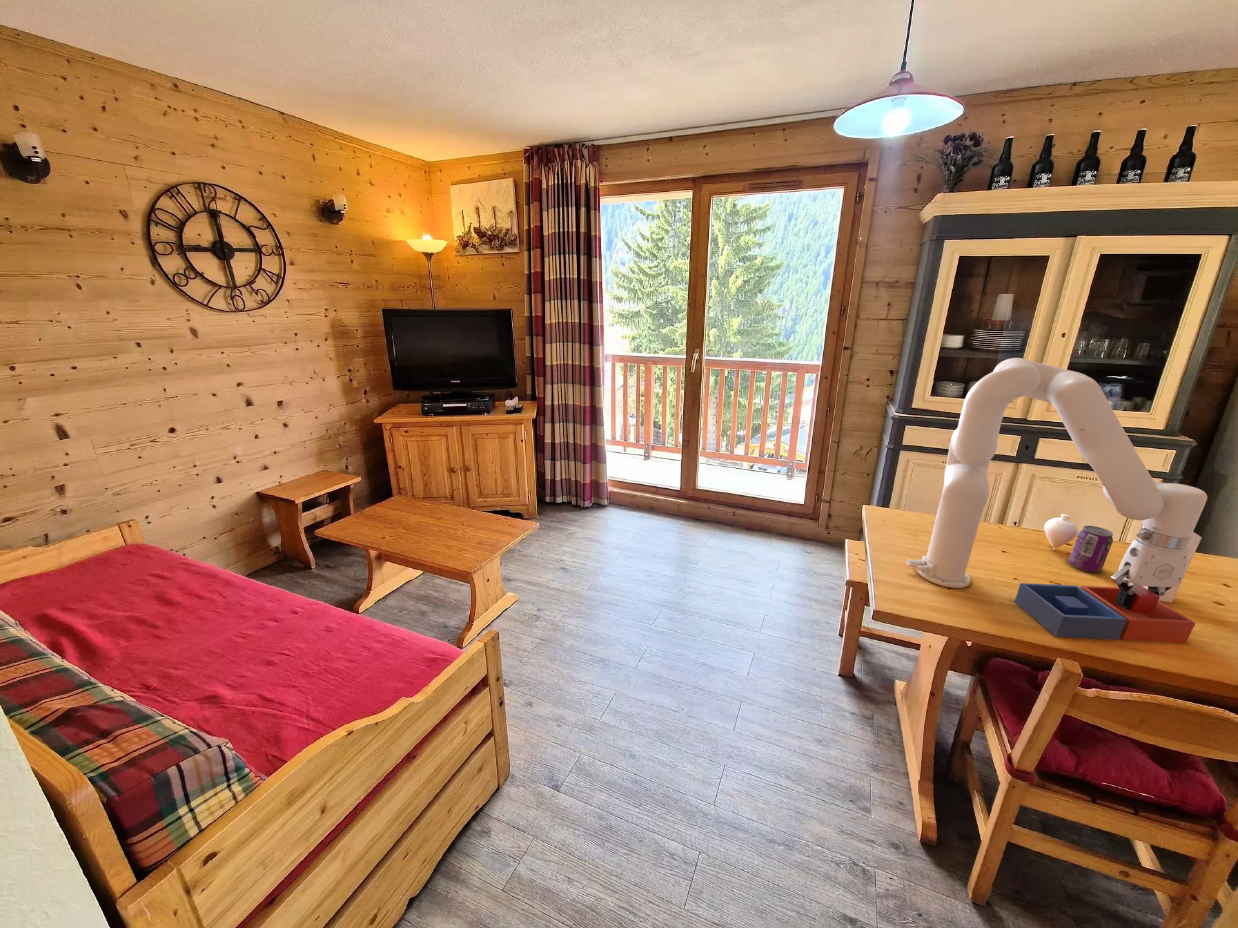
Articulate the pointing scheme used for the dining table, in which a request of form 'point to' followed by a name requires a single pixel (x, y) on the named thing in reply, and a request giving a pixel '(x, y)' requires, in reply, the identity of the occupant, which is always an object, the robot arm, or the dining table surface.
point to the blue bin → (1093, 625)
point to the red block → (1144, 600)
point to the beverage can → (1091, 548)
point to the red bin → (1146, 619)
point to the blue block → (1069, 606)
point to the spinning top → (1060, 530)
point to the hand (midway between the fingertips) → (1134, 605)
